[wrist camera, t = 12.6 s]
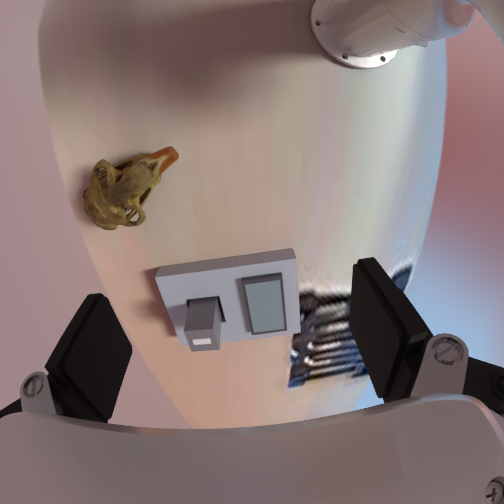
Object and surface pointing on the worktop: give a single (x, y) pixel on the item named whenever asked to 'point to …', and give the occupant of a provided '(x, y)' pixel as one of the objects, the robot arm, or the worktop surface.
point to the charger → (204, 324)
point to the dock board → (237, 293)
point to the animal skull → (125, 188)
